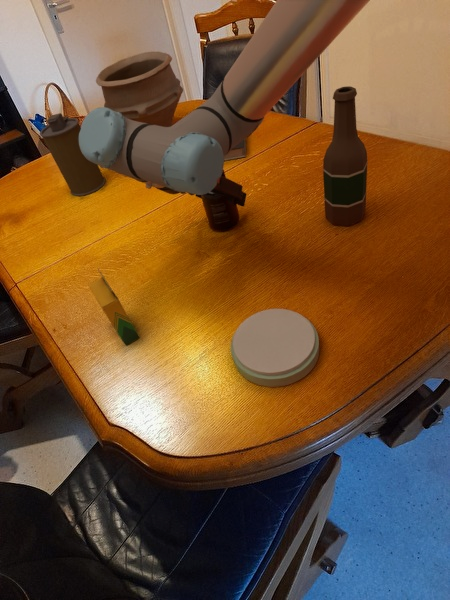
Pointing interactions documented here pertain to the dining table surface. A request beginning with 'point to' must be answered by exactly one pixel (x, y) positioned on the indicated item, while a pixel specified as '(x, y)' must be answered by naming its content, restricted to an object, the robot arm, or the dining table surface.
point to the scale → (275, 347)
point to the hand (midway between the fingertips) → (228, 198)
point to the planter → (142, 88)
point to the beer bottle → (345, 164)
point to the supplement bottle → (220, 211)
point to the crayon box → (114, 310)
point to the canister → (71, 155)
